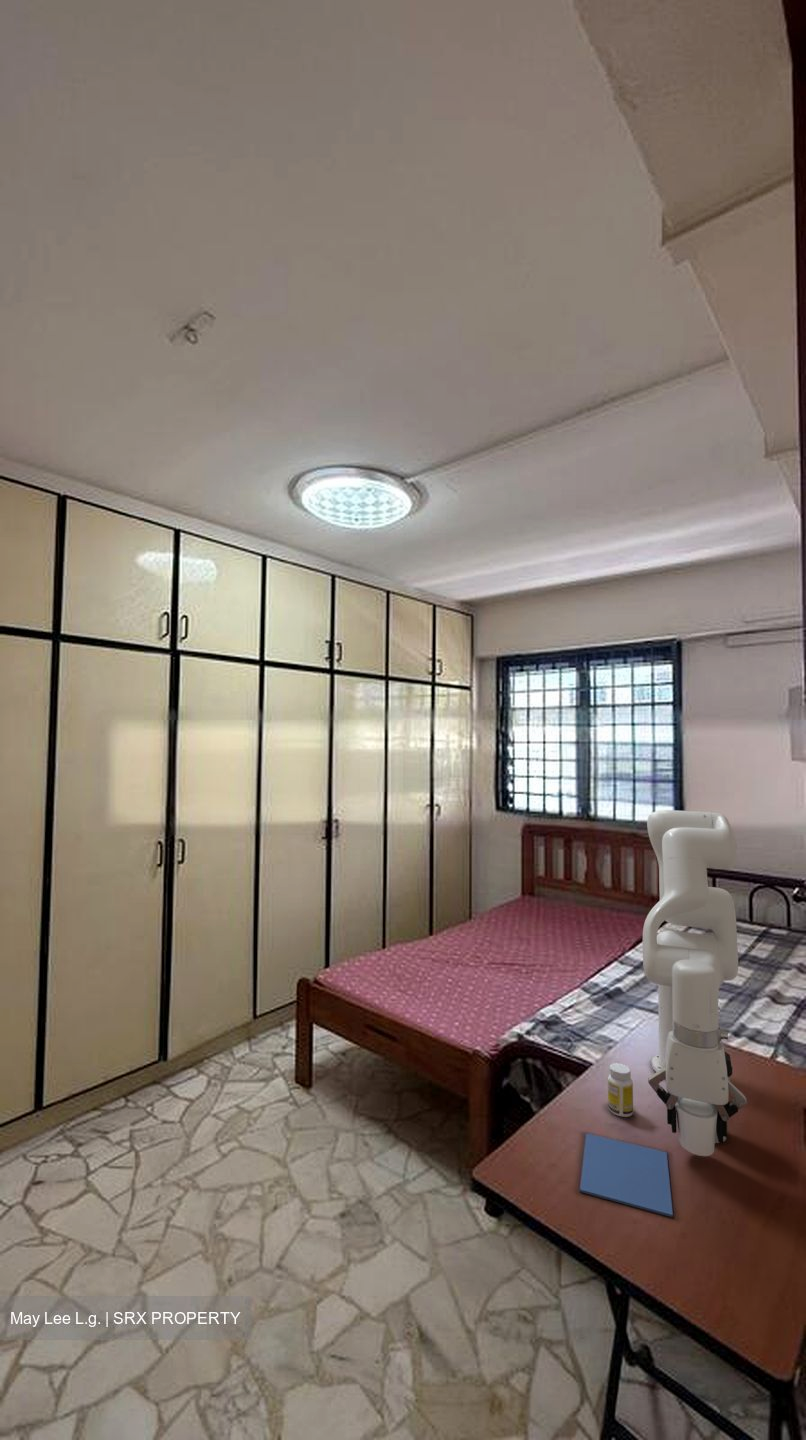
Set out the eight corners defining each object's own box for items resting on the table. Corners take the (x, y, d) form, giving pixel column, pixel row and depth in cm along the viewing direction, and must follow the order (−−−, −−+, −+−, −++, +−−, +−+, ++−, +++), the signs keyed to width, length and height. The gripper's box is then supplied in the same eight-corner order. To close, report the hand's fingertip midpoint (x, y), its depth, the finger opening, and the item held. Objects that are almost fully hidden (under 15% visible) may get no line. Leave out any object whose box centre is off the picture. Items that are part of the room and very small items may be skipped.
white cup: (668, 1133, 108) (667, 1094, 108) (703, 1131, 109) (702, 1093, 109) (689, 1159, 101) (688, 1118, 102) (726, 1157, 102) (726, 1116, 102)
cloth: (586, 1134, 111) (586, 1132, 111) (666, 1154, 106) (666, 1152, 106) (579, 1191, 96) (579, 1189, 96) (673, 1217, 91) (672, 1215, 91)
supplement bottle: (632, 1106, 120) (632, 1064, 121) (633, 1119, 116) (633, 1076, 117) (608, 1102, 122) (607, 1060, 123) (608, 1114, 118) (608, 1071, 118)
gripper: (746, 1032, 106) (747, 1133, 105) (643, 1015, 113) (643, 1110, 112) (754, 1052, 99) (756, 1160, 98) (644, 1033, 106) (645, 1134, 105)
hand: (696, 1132), depth 105 cm, fingers closed on white cup, 6 cm apart
